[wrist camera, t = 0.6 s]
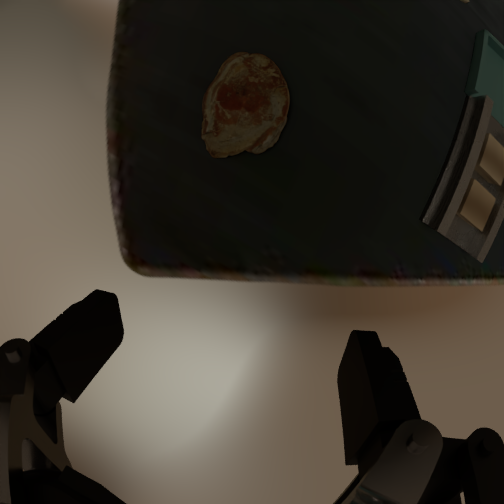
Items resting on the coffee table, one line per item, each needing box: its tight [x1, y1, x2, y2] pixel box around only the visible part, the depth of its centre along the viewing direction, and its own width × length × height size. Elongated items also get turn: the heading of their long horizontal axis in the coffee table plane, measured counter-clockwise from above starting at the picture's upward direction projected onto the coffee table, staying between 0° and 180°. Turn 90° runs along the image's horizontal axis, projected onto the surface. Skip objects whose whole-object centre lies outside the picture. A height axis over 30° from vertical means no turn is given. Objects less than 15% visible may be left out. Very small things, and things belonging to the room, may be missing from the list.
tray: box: [464, 29, 504, 128], centre depth 20 cm, size 13×12×3 cm
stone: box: [202, 52, 290, 158], centre depth 28 cm, size 13×10×3 cm
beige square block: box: [456, 178, 496, 231], centre depth 26 cm, size 5×5×3 cm
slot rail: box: [419, 95, 504, 263], centre depth 25 cm, size 20×11×4 cm, turn 158°
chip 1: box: [474, 133, 504, 186], centre depth 24 cm, size 5×5×3 cm
